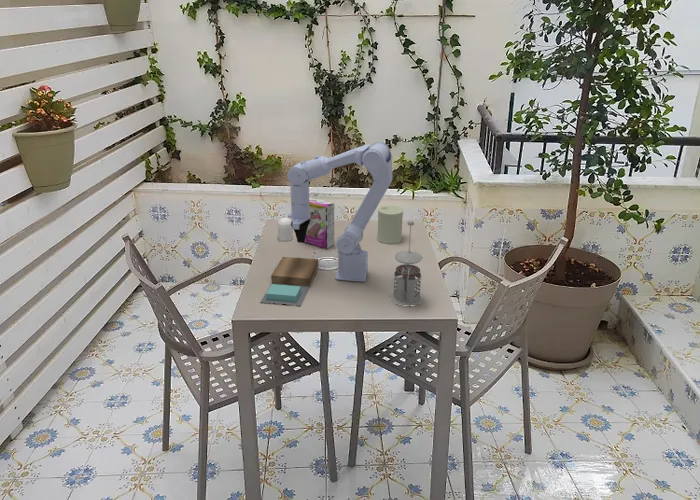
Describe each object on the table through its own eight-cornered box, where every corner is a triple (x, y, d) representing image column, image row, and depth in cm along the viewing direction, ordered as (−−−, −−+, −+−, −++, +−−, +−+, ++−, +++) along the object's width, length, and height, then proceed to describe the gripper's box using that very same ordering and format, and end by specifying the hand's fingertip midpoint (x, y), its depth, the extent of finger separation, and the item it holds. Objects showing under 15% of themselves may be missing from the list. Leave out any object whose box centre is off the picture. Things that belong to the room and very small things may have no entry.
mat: (309, 287, 176) (309, 286, 176) (300, 306, 165) (300, 305, 165) (271, 284, 177) (271, 283, 177) (260, 302, 167) (260, 302, 166)
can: (385, 232, 217) (386, 202, 212) (406, 238, 212) (408, 207, 207) (372, 240, 210) (372, 209, 205) (393, 246, 205) (394, 214, 200)
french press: (424, 292, 173) (430, 215, 163) (420, 311, 163) (425, 230, 153) (392, 289, 175) (396, 212, 165) (386, 307, 165) (389, 227, 155)
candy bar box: (301, 242, 207) (300, 200, 200) (309, 238, 211) (308, 196, 204) (327, 249, 201) (326, 206, 195) (335, 245, 205) (334, 202, 199)
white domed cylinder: (295, 236, 212) (294, 216, 209) (288, 242, 207) (287, 221, 204) (282, 234, 214) (281, 214, 210) (275, 239, 209) (274, 219, 206)
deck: (318, 267, 188) (318, 259, 187) (309, 287, 176) (309, 278, 175) (283, 264, 190) (282, 256, 189) (271, 284, 177) (271, 275, 176)
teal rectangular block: (295, 296, 166) (296, 302, 167) (300, 286, 171) (300, 292, 172) (266, 293, 167) (266, 299, 168) (271, 284, 173) (272, 289, 173)
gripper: (292, 193, 185) (294, 232, 190) (281, 209, 172) (283, 250, 177) (314, 195, 184) (315, 233, 189) (304, 210, 171) (306, 251, 176)
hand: (301, 241), depth 183 cm, fingers closed
